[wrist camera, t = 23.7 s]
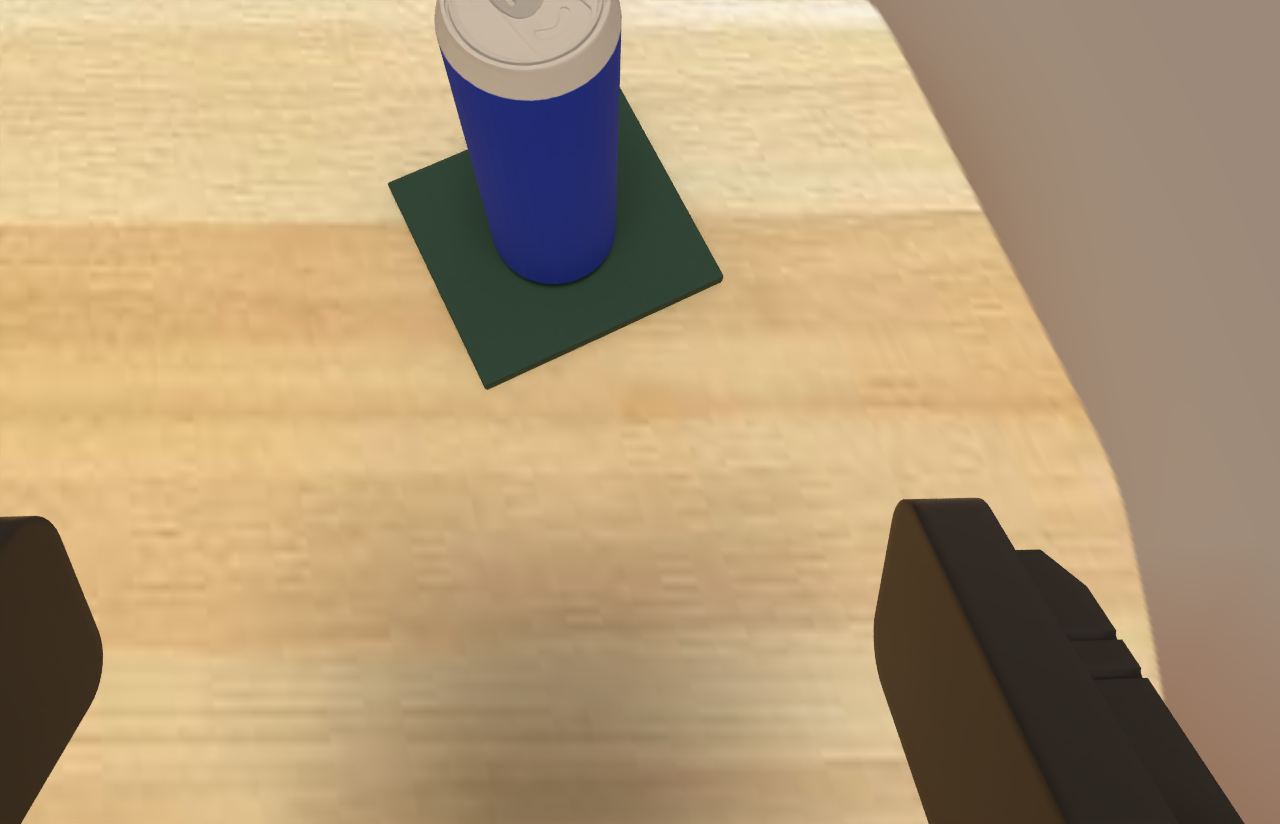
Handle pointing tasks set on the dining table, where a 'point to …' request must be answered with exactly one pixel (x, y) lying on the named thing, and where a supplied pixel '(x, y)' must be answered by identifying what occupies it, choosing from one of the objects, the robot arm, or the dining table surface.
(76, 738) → the dining table surface
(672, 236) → the mat
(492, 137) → the beverage can
